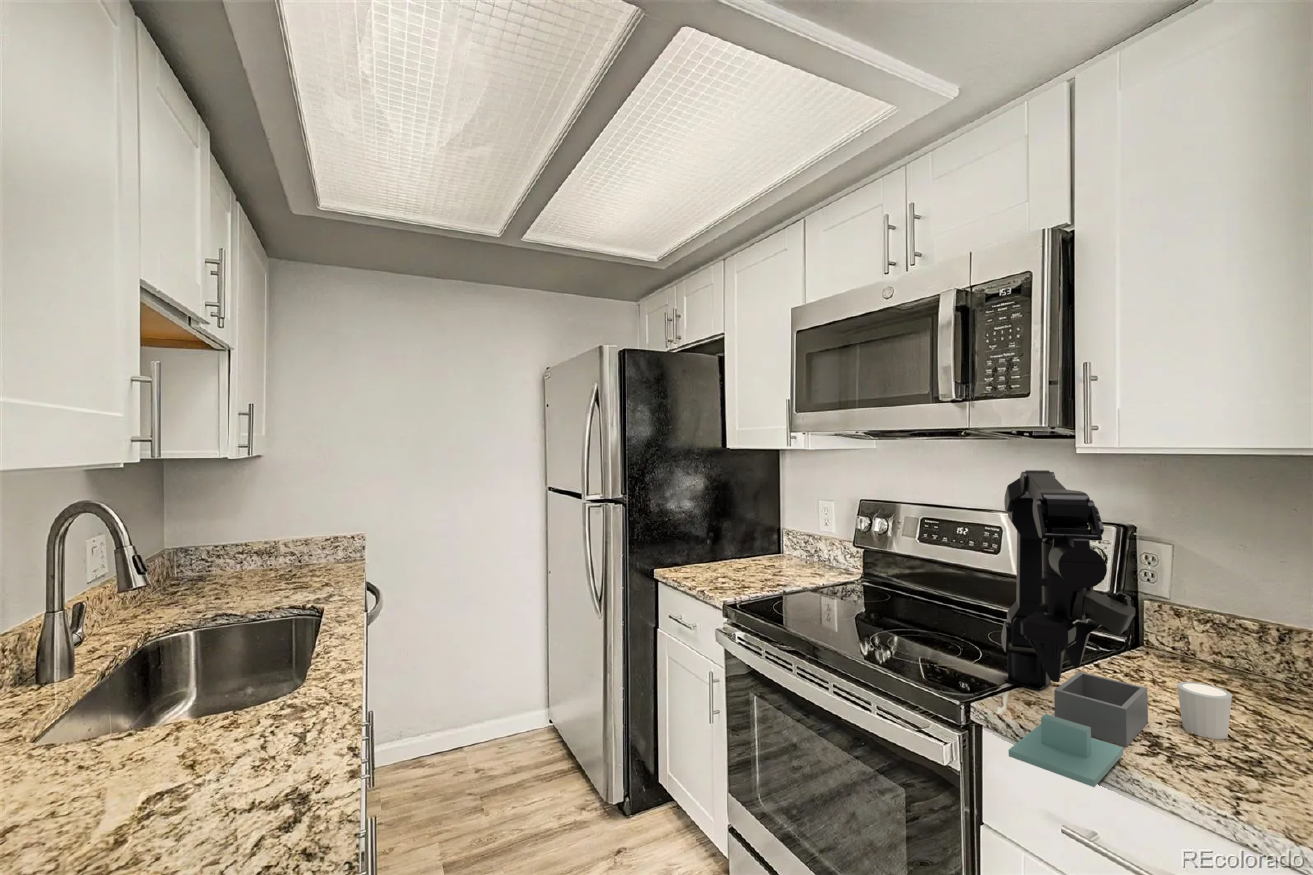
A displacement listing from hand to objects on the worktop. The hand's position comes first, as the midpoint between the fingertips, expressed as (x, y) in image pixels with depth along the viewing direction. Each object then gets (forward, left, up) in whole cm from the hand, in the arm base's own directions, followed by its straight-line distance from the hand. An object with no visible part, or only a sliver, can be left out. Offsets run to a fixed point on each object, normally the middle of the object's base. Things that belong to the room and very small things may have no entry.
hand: (1065, 673), depth 94 cm
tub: (0, +17, -13) cm, 21 cm away
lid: (0, -1, -13) cm, 13 cm away
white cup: (+12, +27, -13) cm, 32 cm away
